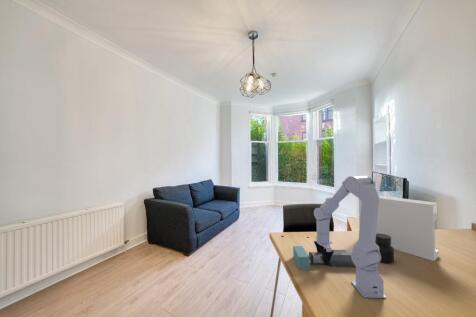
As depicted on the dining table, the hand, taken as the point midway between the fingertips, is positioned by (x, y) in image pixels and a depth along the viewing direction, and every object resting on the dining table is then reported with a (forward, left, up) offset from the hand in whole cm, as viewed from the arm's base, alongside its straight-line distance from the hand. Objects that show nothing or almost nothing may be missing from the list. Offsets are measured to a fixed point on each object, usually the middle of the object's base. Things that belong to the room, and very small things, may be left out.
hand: (323, 260), depth 97 cm
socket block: (0, +11, -2) cm, 11 cm away
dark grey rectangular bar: (0, -10, -2) cm, 10 cm away
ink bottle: (+5, -32, -2) cm, 32 cm away
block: (+21, -48, -2) cm, 53 cm away
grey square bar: (0, -2, -1) cm, 3 cm away
